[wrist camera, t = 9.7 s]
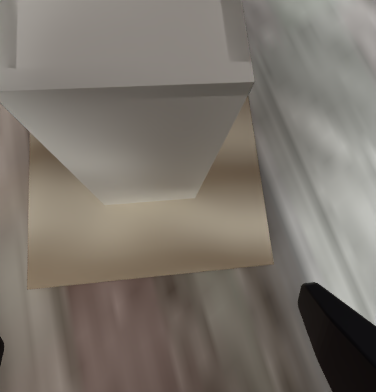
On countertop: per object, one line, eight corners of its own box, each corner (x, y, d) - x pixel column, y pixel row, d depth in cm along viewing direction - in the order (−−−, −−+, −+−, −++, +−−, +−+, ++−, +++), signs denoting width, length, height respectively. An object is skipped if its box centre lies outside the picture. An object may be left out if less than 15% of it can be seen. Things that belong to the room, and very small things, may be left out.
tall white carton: (194, 198, 18) (254, 81, 6) (104, 205, 17) (-12, 91, 6) (186, 117, 19) (224, -109, 7) (101, 121, 19) (-1, -116, 7)
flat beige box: (271, 264, 18) (314, 265, 13) (30, 289, 17) (-28, 300, 11) (241, 61, 21) (266, -2, 16) (33, 67, 19) (-12, -1, 14)
